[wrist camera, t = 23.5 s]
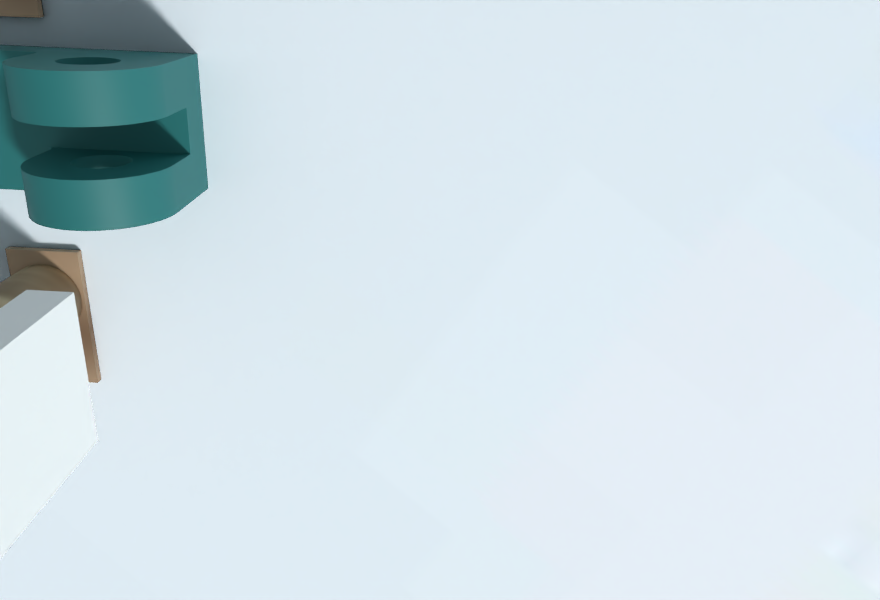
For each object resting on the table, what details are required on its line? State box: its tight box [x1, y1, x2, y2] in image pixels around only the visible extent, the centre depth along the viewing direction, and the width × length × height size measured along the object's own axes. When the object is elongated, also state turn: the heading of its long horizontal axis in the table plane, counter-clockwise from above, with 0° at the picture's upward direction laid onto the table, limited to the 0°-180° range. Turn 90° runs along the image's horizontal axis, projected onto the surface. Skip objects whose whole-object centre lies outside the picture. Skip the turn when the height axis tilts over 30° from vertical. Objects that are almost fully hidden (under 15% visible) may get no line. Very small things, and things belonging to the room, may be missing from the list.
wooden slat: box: [0, 0, 101, 383], centre depth 41 cm, size 28×4×1 cm, turn 178°
